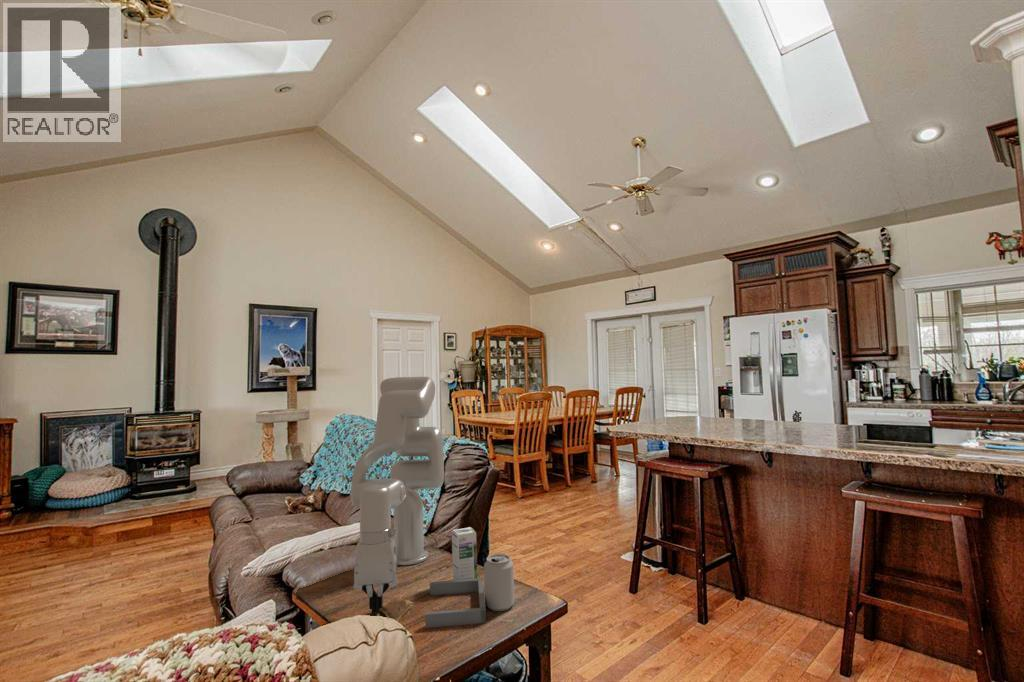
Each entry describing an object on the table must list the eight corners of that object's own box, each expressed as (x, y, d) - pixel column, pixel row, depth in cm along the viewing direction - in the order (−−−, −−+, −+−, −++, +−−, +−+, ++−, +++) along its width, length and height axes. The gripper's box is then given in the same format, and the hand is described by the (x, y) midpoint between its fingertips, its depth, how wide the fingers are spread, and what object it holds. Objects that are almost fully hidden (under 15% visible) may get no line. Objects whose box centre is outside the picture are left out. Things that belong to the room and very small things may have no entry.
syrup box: (458, 588, 134) (457, 534, 136) (452, 580, 140) (451, 528, 141) (477, 584, 137) (476, 531, 138) (471, 576, 142) (470, 525, 143)
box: (430, 593, 131) (430, 582, 132) (482, 589, 133) (482, 578, 133) (425, 628, 113) (425, 614, 113) (486, 622, 115) (485, 609, 115)
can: (481, 602, 125) (479, 555, 126) (507, 596, 128) (506, 550, 129) (491, 615, 118) (489, 564, 119) (519, 608, 121) (517, 559, 122)
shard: (394, 628, 114) (394, 621, 115) (365, 625, 116) (365, 618, 116) (414, 607, 125) (414, 600, 125) (388, 605, 127) (388, 597, 127)
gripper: (407, 529, 127) (408, 602, 125) (348, 533, 125) (348, 606, 124) (403, 538, 119) (404, 616, 118) (341, 542, 118) (341, 621, 116)
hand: (376, 611), depth 121 cm, fingers closed
